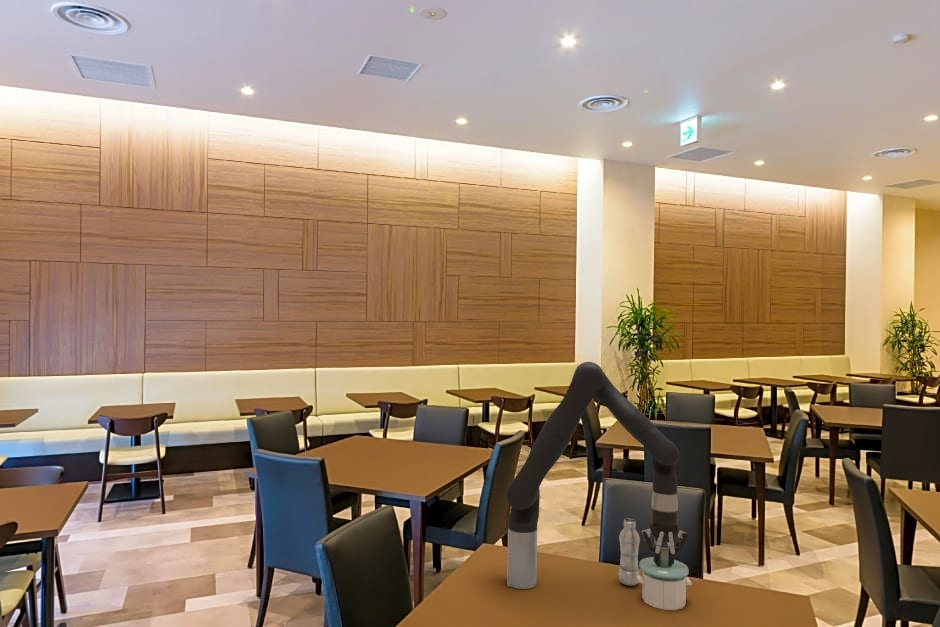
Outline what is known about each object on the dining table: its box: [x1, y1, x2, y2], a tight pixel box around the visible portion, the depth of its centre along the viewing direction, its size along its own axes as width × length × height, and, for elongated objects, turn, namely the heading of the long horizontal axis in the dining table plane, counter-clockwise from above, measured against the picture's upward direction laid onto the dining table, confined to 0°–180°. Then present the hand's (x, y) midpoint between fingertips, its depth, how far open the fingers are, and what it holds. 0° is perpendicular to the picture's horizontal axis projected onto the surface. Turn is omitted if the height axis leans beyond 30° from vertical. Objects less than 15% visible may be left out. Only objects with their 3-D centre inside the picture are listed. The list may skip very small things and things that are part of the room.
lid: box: [638, 546, 690, 579], centre depth 182 cm, size 14×14×6 cm
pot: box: [637, 570, 693, 611], centre depth 182 cm, size 15×12×8 cm
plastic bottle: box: [618, 518, 641, 587], centre depth 193 cm, size 6×7×20 cm
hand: (663, 564), depth 182 cm, fingers closed on lid, 3 cm apart
